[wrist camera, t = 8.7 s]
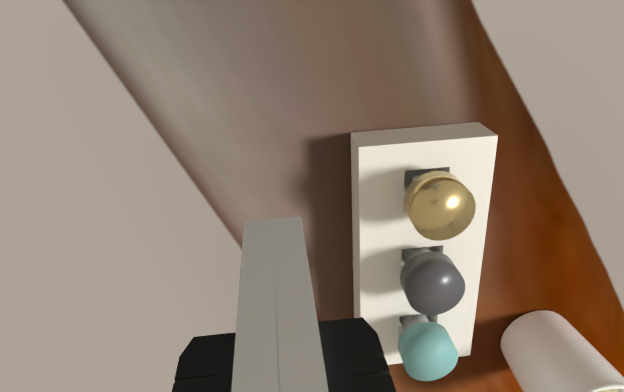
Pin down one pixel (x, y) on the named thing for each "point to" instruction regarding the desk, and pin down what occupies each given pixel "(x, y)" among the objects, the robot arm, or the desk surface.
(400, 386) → the desk surface
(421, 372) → the knob
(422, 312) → the knob mid
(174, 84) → the desk surface
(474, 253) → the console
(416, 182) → the knob
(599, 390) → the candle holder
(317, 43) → the desk surface
